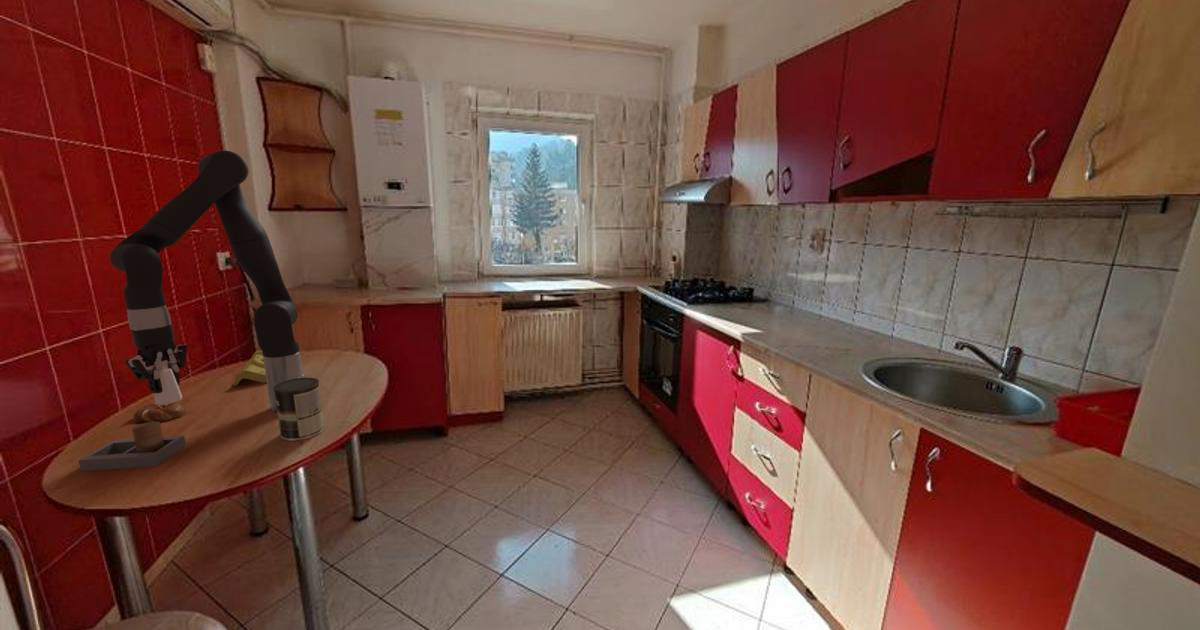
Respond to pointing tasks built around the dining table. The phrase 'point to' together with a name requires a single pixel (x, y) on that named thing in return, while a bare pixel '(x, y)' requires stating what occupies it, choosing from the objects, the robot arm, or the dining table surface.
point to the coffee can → (299, 408)
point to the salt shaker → (167, 386)
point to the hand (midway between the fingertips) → (166, 389)
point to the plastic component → (253, 369)
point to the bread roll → (158, 413)
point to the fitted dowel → (148, 437)
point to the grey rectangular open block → (129, 455)
